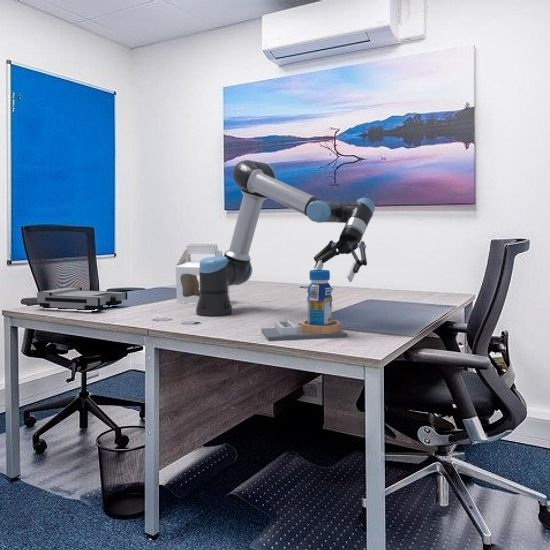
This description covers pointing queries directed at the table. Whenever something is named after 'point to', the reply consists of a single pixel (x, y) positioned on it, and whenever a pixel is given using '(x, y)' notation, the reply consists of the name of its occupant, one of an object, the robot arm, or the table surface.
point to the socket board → (302, 331)
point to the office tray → (79, 298)
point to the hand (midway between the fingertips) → (331, 278)
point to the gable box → (191, 272)
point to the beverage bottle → (319, 299)
